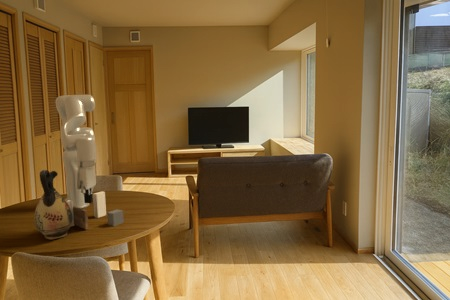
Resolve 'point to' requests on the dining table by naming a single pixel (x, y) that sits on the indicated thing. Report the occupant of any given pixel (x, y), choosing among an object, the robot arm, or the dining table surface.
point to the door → (80, 217)
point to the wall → (98, 205)
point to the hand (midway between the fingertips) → (88, 202)
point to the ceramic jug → (52, 209)
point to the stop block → (115, 217)
